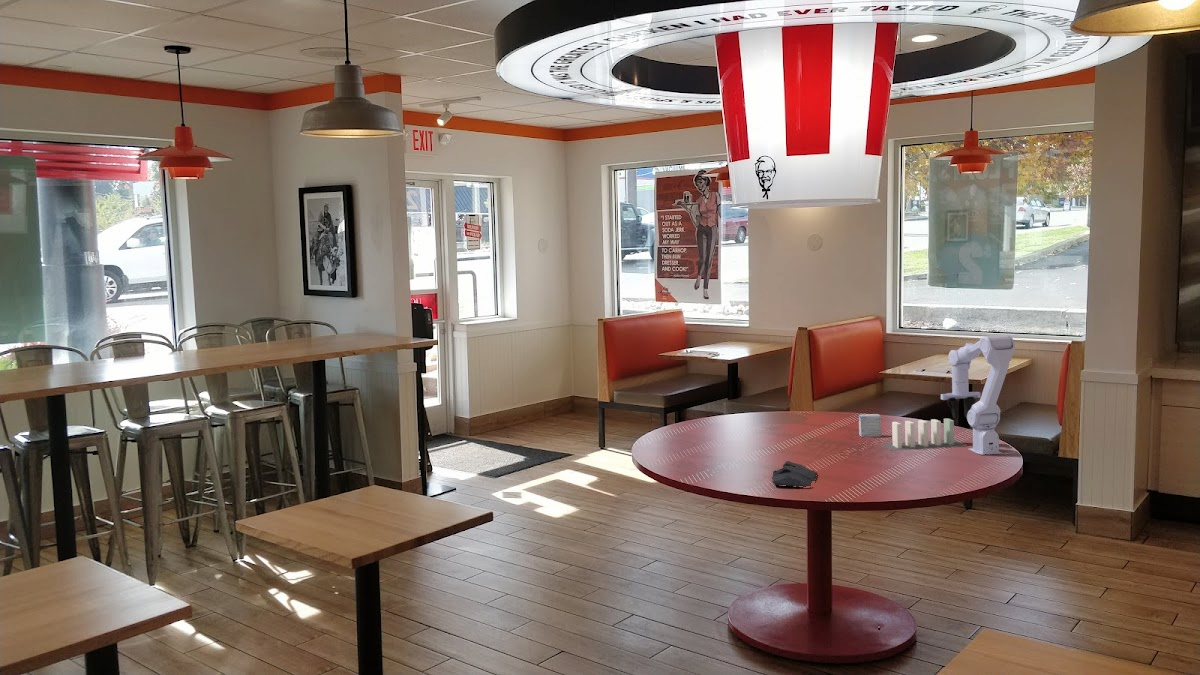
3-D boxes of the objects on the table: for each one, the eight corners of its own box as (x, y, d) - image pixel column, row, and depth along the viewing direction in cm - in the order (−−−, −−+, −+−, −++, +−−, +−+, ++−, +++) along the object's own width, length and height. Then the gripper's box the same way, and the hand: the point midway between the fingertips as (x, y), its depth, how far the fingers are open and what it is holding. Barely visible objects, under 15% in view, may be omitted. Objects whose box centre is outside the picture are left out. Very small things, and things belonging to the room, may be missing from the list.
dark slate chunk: (765, 489, 298) (765, 474, 298) (773, 473, 319) (772, 459, 319) (814, 490, 294) (814, 476, 293) (818, 474, 315) (818, 460, 314)
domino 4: (935, 442, 351) (935, 419, 350) (941, 445, 346) (940, 421, 345) (931, 442, 351) (930, 419, 350) (937, 445, 346) (936, 421, 345)
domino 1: (896, 445, 350) (896, 421, 349) (901, 447, 345) (901, 423, 344) (892, 445, 350) (892, 421, 349) (897, 448, 345) (897, 424, 344)
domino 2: (909, 444, 350) (909, 420, 350) (915, 447, 345) (914, 423, 345) (905, 444, 350) (905, 421, 349) (910, 447, 345) (910, 423, 344)
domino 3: (922, 443, 351) (922, 420, 350) (928, 446, 346) (927, 422, 345) (918, 443, 351) (918, 420, 350) (923, 446, 346) (923, 422, 345)
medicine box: (879, 435, 372) (878, 413, 371) (881, 437, 368) (880, 415, 367) (859, 435, 373) (858, 414, 372) (861, 437, 368) (860, 416, 368)
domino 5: (948, 441, 351) (947, 418, 351) (954, 444, 346) (953, 420, 346) (944, 442, 351) (943, 418, 350) (950, 444, 346) (949, 420, 345)
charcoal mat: (968, 446, 343) (968, 445, 343) (891, 451, 341) (891, 450, 341) (953, 440, 355) (953, 439, 355) (879, 445, 353) (879, 444, 353)
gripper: (973, 379, 352) (974, 414, 353) (936, 381, 350) (937, 417, 352) (983, 381, 345) (983, 417, 346) (945, 383, 343) (945, 420, 345)
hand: (960, 417), depth 348 cm, fingers open, 4 cm apart
